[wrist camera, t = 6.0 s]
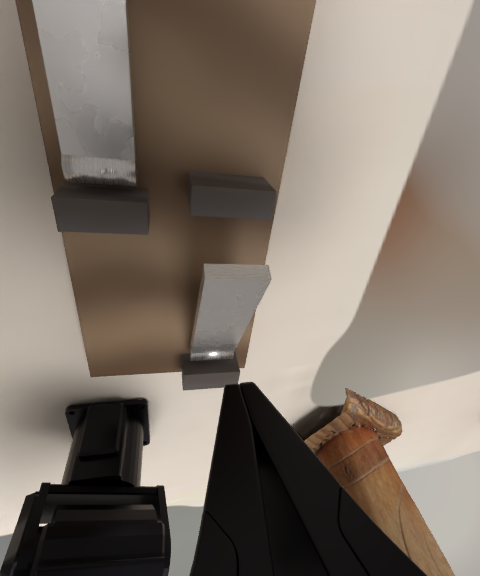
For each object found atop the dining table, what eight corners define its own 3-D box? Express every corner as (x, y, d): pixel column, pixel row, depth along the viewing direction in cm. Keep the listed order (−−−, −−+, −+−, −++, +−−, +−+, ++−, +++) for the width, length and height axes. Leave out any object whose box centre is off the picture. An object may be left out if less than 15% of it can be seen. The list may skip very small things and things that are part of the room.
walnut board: (240, 354, 26) (251, 393, 23) (94, 361, 24) (83, 406, 21) (332, -157, 12) (395, -245, 8) (-23, -284, 9) (-128, -481, 6)
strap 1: (229, 343, 24) (231, 361, 23) (189, 344, 23) (190, 363, 22) (267, 259, 15) (272, 285, 14) (203, 258, 14) (205, 285, 13)
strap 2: (138, 180, 16) (135, 190, 15) (72, 175, 15) (65, 186, 14) (118, -175, 9) (111, -204, 8) (4, -211, 9) (-20, -248, 8)
